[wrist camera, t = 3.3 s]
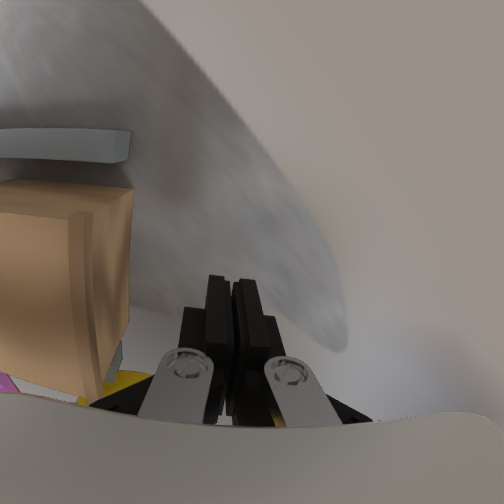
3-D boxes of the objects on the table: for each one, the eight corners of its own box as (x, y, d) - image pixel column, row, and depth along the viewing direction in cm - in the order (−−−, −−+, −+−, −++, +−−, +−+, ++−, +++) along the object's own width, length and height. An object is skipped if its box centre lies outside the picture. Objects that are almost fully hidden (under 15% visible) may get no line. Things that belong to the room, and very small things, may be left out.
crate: (132, 323, 19) (99, 407, 12) (20, 301, 17) (-37, 362, 11) (138, 185, 16) (83, 217, 9) (12, 175, 15) (-70, 200, 8)
